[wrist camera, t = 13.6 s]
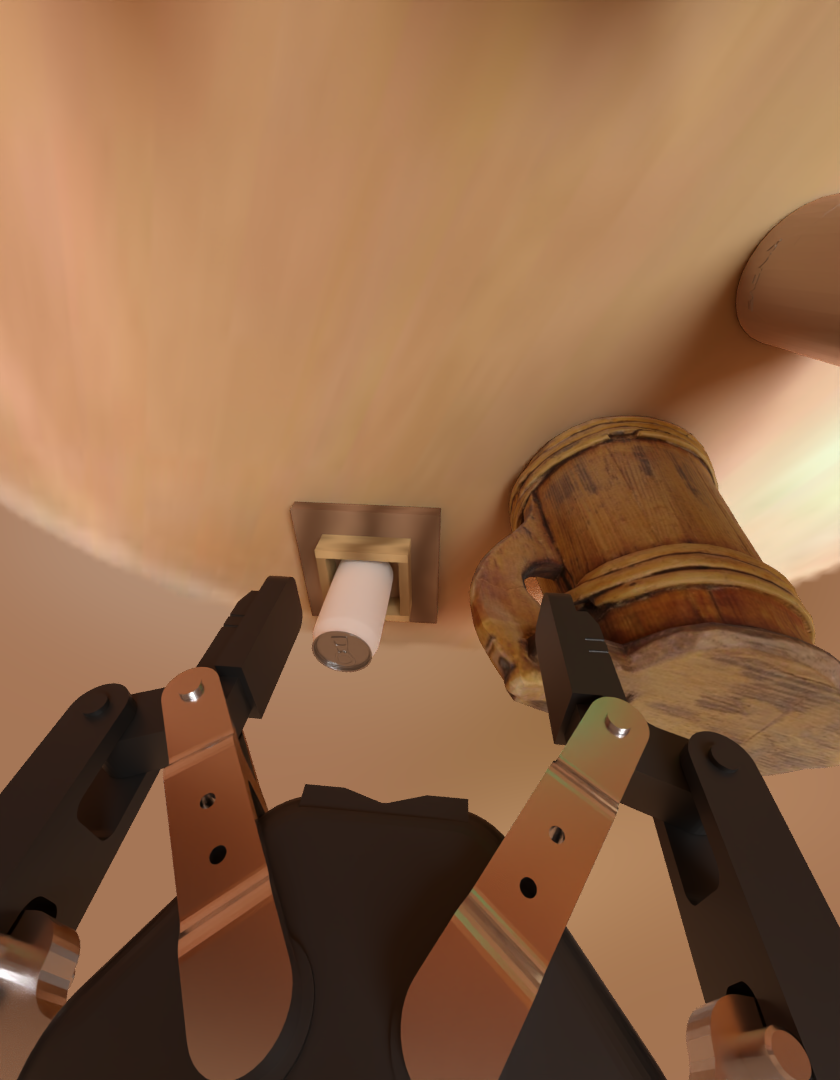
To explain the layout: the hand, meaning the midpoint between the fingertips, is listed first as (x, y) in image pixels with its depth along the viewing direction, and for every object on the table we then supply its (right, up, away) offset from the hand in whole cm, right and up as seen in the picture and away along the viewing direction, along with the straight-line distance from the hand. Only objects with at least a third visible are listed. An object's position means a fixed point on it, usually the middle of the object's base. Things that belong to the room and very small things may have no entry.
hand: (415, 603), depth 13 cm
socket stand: (-6, -1, +36) cm, 36 cm away
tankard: (+16, +7, +28) cm, 33 cm away
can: (-6, -1, +34) cm, 35 cm away
